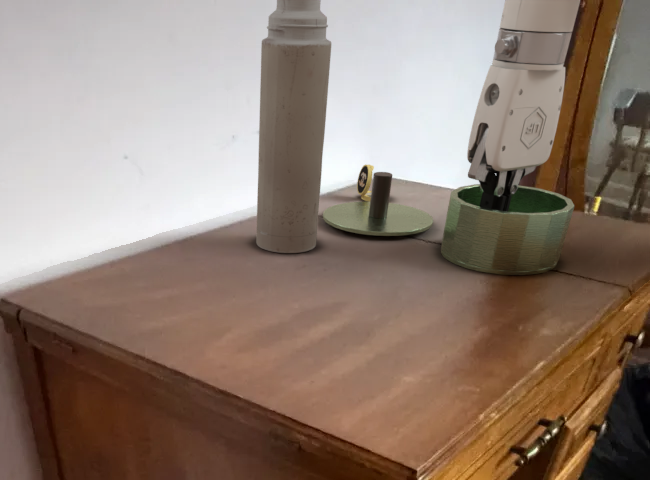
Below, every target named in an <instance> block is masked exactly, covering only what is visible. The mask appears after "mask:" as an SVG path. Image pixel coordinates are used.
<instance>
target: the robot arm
mask: <svg viewBox="0 0 650 480" xmlns="http://www.w3.org/2000/svg"><path fill="white" fill-rule="evenodd" d="M580 3H581V0H504V4H503V9H502V14H501V19H500V24H499V28H498V33H497V38H496V41H495V44H494V52H493V58H492V61H491V62H492V63H491V65H490V66H489V68H488V71H487V74H486V76H485V80H484V81H483V82H484V83H483V85H482V89H481V91H480V94H479V99H478V102H477V106H476V108H475V113H474V117H473V121H472V125H471V128H470V129H471V130H470V134H469V140H468V145H467V153H466V158H467V161H468V163H469V164H470V167H469V169H468V172H467V178H469V179H472V180H475V181H478V183H479V184H480V191H481V192H483V193H482V197H481V202H480V206H479V207H482V208H487V209H493V210H499V211H504V212H508V210H509V206H510V202H511V198H512V195H513V194H514V193H515V192H516V191H517V188H518V185H519V184H520V182H521V181H522V180H523V178H524V177H525V176H527V175H530V174H531V173H533V172H534V171H535V170H536V168H537V167H539V166H541V165H543V164H544V163H546V162H547V161H548V160H549V159H550V156H551V153H552V149H553V145H554V141H555V136H556V133H557V129H558V124H559V119H560V114H561V109H562V103H563V98H564V90H565V81H566V66H564V65H565V61H566V58H567V53H568V50H569V47H570V41H571V38H572V34H573V31H574V26H575V23H576V18H577V15H578V11H579V8H580ZM510 194H512V195H510Z"/></svg>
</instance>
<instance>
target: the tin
mask: <svg viewBox="0 0 650 480" xmlns="http://www.w3.org/2000/svg"><path fill="white" fill-rule="evenodd" d="M482 193H483V192H481V191H480V183H475V184H468V185H464V186H459V187H457V188H455V189H453V190H452V191H450V196H449V200H448V205H447V212H446V216H445V223H444V227H443V234H442V238H441V248H440V253H441V255H442V257H443V258H444V259H445V260H447V261H448V262H450V263H451V264H454V265H456V266H459V267H462V268H465V269H467V270H471V271H476V272H480V273H485V274H492V275H503V276H530V275H539V274H543V273H547V272H550V271H551V270H553V269H554V268H555V267H557V265H558V262H559V260H560V258H561V254H562V251H563V248H564V244H565V241H566V237H567V234H568V231H569V227H570V223H571V219H572V217H573V212H574V209H575V204H574V203H573V201H572V199H571V198H569V197H567V196H564V195H563V194H560V193H558V192H555V191H550V190H546V189H544V188H539V187H533V186H526V185H518V188H517V191H516V192H515V193H514V194H513V195H512V194H510V195H512V198H511V202H510V206H509V210H508V212H504V211H499V210H493V209H487V208H482V207H479V206H480V202H481V197H482Z"/></svg>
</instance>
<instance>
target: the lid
mask: <svg viewBox="0 0 650 480" xmlns="http://www.w3.org/2000/svg"><path fill="white" fill-rule="evenodd" d="M392 182H393V174H392V173H391V172H387V171H376V172H374V173H373V174H372V182H371V184H372V185H371V191H372V192H371V200H370V202H369V201H351V202H342V203H338V204H334V205H331V206H329V207H327V208H325V209H324V211H323V213H322V219H323V221H324V222H325V223H326V224H328V225H329V226H331V227H333V228H336V229H339V230H341V231H345V232H349V233H355V234H359V235H366V236H373V237H398V236H411V235H415V234H419V233H423V232H425V231H426V232H427V231H428V230H429V229H431V228H432V227H433V223H434V218H433V217H432V215H431V214H429V213H428V212H426V211H424V210H422V209H420V208H417V207H414V206H409V205H405V204H400V203H394V202H390V196H391V188H392Z"/></svg>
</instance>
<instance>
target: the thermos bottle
mask: <svg viewBox="0 0 650 480" xmlns="http://www.w3.org/2000/svg"><path fill="white" fill-rule="evenodd" d="M321 1H322V0H276V7H275V10H274V11H272V12H271V13H270V14H269V16H268V21H267V22H268V24H267V25H266V29H267V37H265V38H263V39H262V40H261V47H260V48H261V52H260V56H261V57H260V58H261V59H260V84H259V85H260V87H259V126H258V127H259V129H258V165H257V166H258V167H257V174H258V175H257V199H256V200H257V201H256V202H257V204H256V234H255V235H256V237H255V238H256V239H255V243H256V245H257V247H259V248H260V249H263V250H265V251H267V252H268V251H269V252H274V253H280V254H297V253H305V252H308V251H311V250H313V249H315V247H316V246H317V238H318V226H319V209H320V197H321V186H322V185H321V183H322V172H323V170H322V169H323V152H324V144H325V143H324V142H325V132H326V120H327V108H328V107H327V106H328V94H329V81H330V69H331V55H332V41H331V40H330V39H328V38H327V28H328V27H329V24H328V17H327V16H326V15H325V13H323V12H322V10H321Z"/></svg>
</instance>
